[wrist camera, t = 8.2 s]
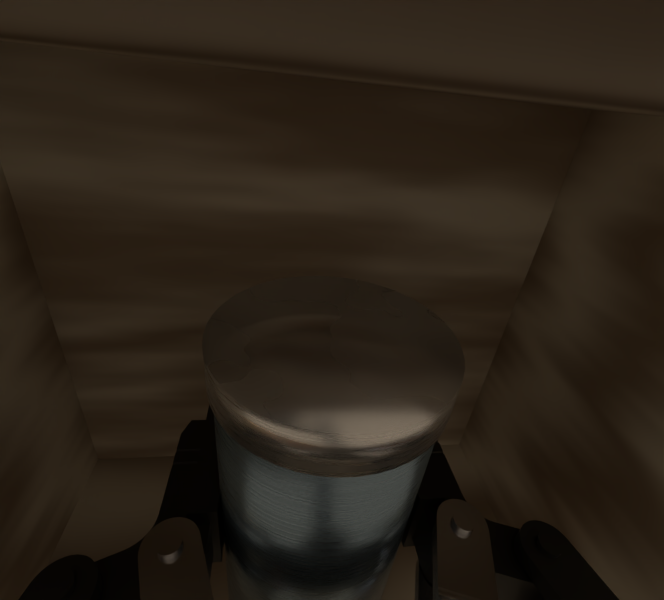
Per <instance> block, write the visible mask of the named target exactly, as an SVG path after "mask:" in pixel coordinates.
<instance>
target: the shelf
mask: <svg viewBox="0 0 664 600" xmlns="http://www.w3.org/2000/svg"><path fill="white" fill-rule="evenodd" d="M299 276H333V277H343V278H349V279H356V280H360V281H365V282H369V283H373V284H376V285H380V286H383V287H386V288H389V289H392V290H394V291H397V292H399V293H401V294H404V295H406V296H408V297H410V298H412V299H414V300H416V301H417V302H419V303H420V304H422V305H424V306H425V307H427V308H428V309H430V310H431V311H432V312H434V313H435V314H436V315H437V316H438V317H439V318H441V319H442V320H443V321H444V322H445V323H446V324H447V326H448V327H449V328H450V329H451V330H452V332H453V333H454V335H455V336H456V338H457V339H458V341H459V343H460V345H461V348H462V351H463V355H464V358H465V372H464V377H463V381H462V384H461V387H460V390H459V393H458V395H457V398H456V401H455V404H454V407H453V409H452V412H451V415H450V418H449V420H448V423H447V425H446V427H445V429H444V431H443V433H442V434H441V436H440V437H439V438H438V443H440V445H441V448H442V450H443V454H445V457H446V459H447V461H448V463H449V466H450V468H451V470H452V472H453V474H454V477H455V479H456V481H457V483H458V486H459V488H460V490H461V492H462V494H463V496H464V498H465V500H466V502H467V503H469V504H471V505H472V506H474V507H475V508H476V509H477V510H478V511H479V512H480V513H481V514H482V516H483V517H484V518H486V519H488V520H490V521H493V522H496V523H500V524H503V525H507V526H511V527H514V528H518V529H521V527H522V525H523V524H524V523H526V522H527V521H531V520H538V521H542V522H545V523H548V524H550V525H551V526H553V527H555V528H556V529H557V530H559V531H560V532H561V533H562V534H563V535H564V536H565V537H566V538H567V539H568V540H569V541H570V543H571V544H572V545H573V546H574V547H575V548H576V550H577V551H578V552H579V553H580V554H581V555H582V557H583V558H584V559H585V560H586V561H587V563H588V564H589V565H590V566H591V567H592V568H593V570H594V571H595V572H596V573H597V574H598V575H599V577H600V578H601V579H602V580H603V581H604V582H605V584H606V585H607V586H608V587H609V588H610V589H611V591H612V592H613V593H614V594H615V595H616V596H617V598H618V599H619V600H664V0H0V600H18V599H19V598H20V597H21V595H22V594H23V592H24V591H25V590H26V588H27V587H28V585H29V584H30V583H31V581H32V580H33V579H34V578H35V577H36V576H37V575H38V574H39V573H40V572H41V571H42V570H43V569H44V568H45V567H47V566H48V565H50V564H51V563H53V562H55V561H56V560H58V559H61V558H63V557H66V556H69V555H76V554H79V555H85V556H88V557H90V558H91V559H92V560H93V561H94V562H95V561H98V560H100V559H103V558H105V557H108V556H110V555H113V554H115V553H118V552H120V551H123V550H125V549H127V548H129V547H131V546H133V545H134V544H136V543H137V542H139V541H140V540H141V539H142V538H143V537H144V536H145V535H146V534H147V533H148V532H149V531H150V530H151V528H152V527H153V525H154V524H155V522H156V520H157V517H158V515H159V511H160V507H161V504H162V500H163V497H164V493H165V489H166V486H167V482H168V479H169V475H170V471H171V468H172V466H173V460H174V457H175V453H176V451H177V446H178V442H179V439H180V435H181V433H182V432H183V430H184V429H185V428H186V427H187V425H188V424H189V423H190V422H191V420H206V417H207V413H208V408H209V401H208V398H207V390H206V381H205V370H204V359H203V349H202V341H203V333H204V330H205V327H206V324H207V323H208V321H209V319H210V318H211V316H212V315H213V313H214V312H215V311H216V310H217V309H218V308H219V307H220V306H221V305H222V304H223V303H224V302H225V301H227V300H228V299H230V298H231V297H233V296H234V295H236V294H238V293H240V292H242V291H243V290H245V289H248V288H250V287H253V286H255V285H258V284H261V283H265V282H268V281H273V280H277V279H282V278H289V277H299ZM417 559H418V556H417V553H416V549H415V546H409V547H403V544H402V541H401V542H400V545H399V548H398V551H397V554H396V557H395V560H394V563H393V566H392V568H391V571H390V574H389V577H388V580H387V583H386V586H385V589H384V592H383V595H382V597H381V600H415V570H416V562H417ZM210 584H211V589H212V594H213V599H214V600H229V595H228V582H227V570H226V558H225V546H224V547H223V555H222V562H213V563H212V569H211V577H210Z"/></svg>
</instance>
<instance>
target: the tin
mask: <svg viewBox="0 0 664 600" xmlns="http://www.w3.org/2000/svg"><path fill="white" fill-rule="evenodd" d="M202 349H203V359H204V370H205V381H206V390H207V398H208V401H209V404H210V407H211V410H212V412H213V413H214V425H215V437H216V449H217V461H218V473H219V485H220V496H221V508H222V520H223V532H224V546H225V558H226V570H227V582H228V595H229V600H381V597H382V595H383V592H384V589H385V586H386V583H387V580H388V577H389V574H390V571H391V568H392V566H393V563H394V560H395V557H396V554H397V551H398V548H399V545H400V542H401V540H402V537H403V534H404V531H405V528H406V525H407V522H408V519H409V516H410V514H411V511H412V508H413V505H414V502H415V499H416V496H417V493H418V490H419V488H420V485H421V482H422V479H423V476H424V473H425V470H426V467H427V464H428V462H429V459H430V456H431V453H432V450H433V447H434V444H435V442H436V441H437V440H438V438H439V437H440V436H441V434H442V433H443V431H444V429H445V427H446V425H447V423H448V420H449V418H450V415H451V412H452V409H453V407H454V404H455V401H456V398H457V395H458V393H459V390H460V387H461V384H462V381H463V377H464V372H465V358H464V355H463V351H462V348H461V345H460V343H459V341H458V339H457V338H456V336H455V335H454V333H453V332H452V330H451V329H450V328H449V327H448V326H447V324H446V323H445V322H444V321H443V320H442V319H441V318H439V317H438V316H437V315H436V314H435V313H434V312H432V311H431V310H430V309H428V308H427V307H425V306H424V305H422V304H420V303H419V302H417V301H416V300H414V299H412V298H410V297H408V296H406V295H404V294H401V293H399V292H397V291H394V290H392V289H389V288H386V287H383V286H380V285H376V284H373V283H369V282H365V281H360V280H356V279H349V278H343V277H333V276H299V277H289V278H282V279H277V280H273V281H268V282H265V283H261V284H258V285H255V286H253V287H250V288H248V289H245V290H243V291H242V292H240V293H238V294H236V295H234V296H233V297H231V298H230V299H228V300H227V301H225V302H224V303H223V304H222V305H221V306H220V307H219V308H218V309H217V310H216V311H215V312H214V313H213V315H212V316H211V318H210V319H209V321H208V323H207V324H206V327H205V330H204V333H203V341H202Z"/></svg>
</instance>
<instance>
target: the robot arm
mask: <svg viewBox="0 0 664 600" xmlns="http://www.w3.org/2000/svg"><path fill="white" fill-rule="evenodd" d="M401 541H402V544H403V547H409V546H415V549H416V553H417V556H418V559H417V562H416V570H415V600H619V599H618V598H617V596H616V595H615V594H614V593H613V592H612V591H611V589H610V588H609V587H608V586H607V585H606V584H605V582H604V581H603V580H602V579H601V578H600V577H599V575H598V574H597V573H596V572H595V571H594V570H593V568H592V567H591V566H590V565H589V564H588V563H587V561H586V560H585V559H584V558H583V557H582V555H581V554H580V553H579V552H578V551H577V550H576V548H575V547H574V546H573V545H572V544H571V543H570V541H569V540H568V539H567V538H566V537H565V536H564V535H563V534H562V533H561V532H560V531H559V530H557V529H556V528H555V527H553V526H551V525H550V524H548V523H545V522H542V521H538V520H531V521H527V522H526V523H524V524H523V525H522V527H521V529H518V528H514V527H511V526H507V525H503V524H500V523H496V522H493V521H490V520H488V519H486V518H484V517H483V516H482V514H481V513H480V512H479V511H478V510H477V509H476V508H475V507H474V506H472V505H471V504H469V503H467V502H466V500H465V498H464V496H463V494H462V492H461V490H460V488H459V486H458V483H457V481H456V479H455V477H454V474H453V472H452V470H451V468H450V466H449V463H448V461H447V459H446V457H445V454H443V450H442V448H441V445H440V443H438V440H437V441H436V442H435V444H434V447H433V450H432V453H431V456H430V459H429V462H428V464H427V467H426V470H425V473H424V476H423V479H422V482H421V485H420V488H419V490H418V493H417V496H416V499H415V502H414V505H413V508H412V511H411V514H410V516H409V519H408V522H407V525H406V528H405V531H404V534H403V537H402V540H401ZM223 547H224V532H223V520H222V508H221V496H220V485H219V473H218V461H217V449H216V437H215V425H214V413H213V412H212V410H211V407H210V404H209V408H208V413H207V417H206V420H191V422H190V423H189V424H188V425H187V427H186V428H185V429H184V430H183V432H182V433H181V435H180V439H179V442H178V446H177V451H176V453H175V457H174V460H173V466H172V468H171V471H170V475H169V479H168V482H167V486H166V489H165V493H164V497H163V500H162V504H161V507H160V511H159V515H158V517H157V520H156V522H155V524H154V525H153V527H152V528H151V530H150V531H149V532H148V533H147V534H146V535H145V536H144V537H143V538H142V539H141V540H140V541H139V542H137V543H136V544H134V545H133V546H131V547H129V548H127V549H125V550H123V551H120V552H118V553H115V554H113V555H110V556H108V557H105V558H103V559H100V560H98V561H95V562H94V561H93V560H92V559H91V558H90V557H88V556H85V555H79V554H76V555H69V556H66V557H63V558H61V559H58V560H56V561H55V562H53V563H51V564H50V565H48V566H47V567H45V568H44V569H43V570H42V571H41V572H40V573H39V574H38V575H37V576H36V577H35V578H34V579H33V580H32V581H31V583H30V584H29V585H28V587H27V588H26V590H25V591H24V592H23V594H22V595H21V597H20V598H19V599H18V600H214V599H213V594H212V589H211V584H210V577H211V569H212V563H213V562H222V555H223Z"/></svg>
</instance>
